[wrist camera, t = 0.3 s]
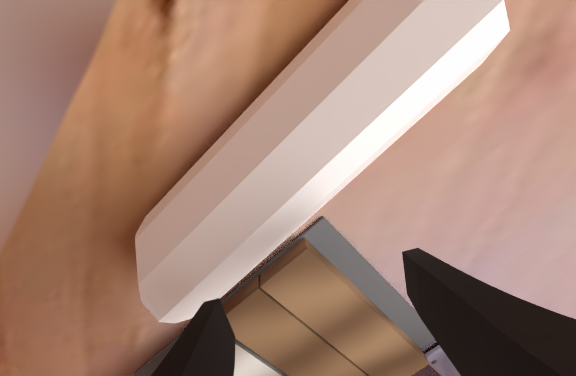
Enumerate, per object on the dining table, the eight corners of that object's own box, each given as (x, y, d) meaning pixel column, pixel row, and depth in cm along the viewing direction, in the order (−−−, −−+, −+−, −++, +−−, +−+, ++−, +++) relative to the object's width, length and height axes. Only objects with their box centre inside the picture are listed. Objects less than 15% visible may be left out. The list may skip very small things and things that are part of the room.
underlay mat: (438, 334, 25) (440, 336, 25) (268, 447, 29) (268, 450, 29) (322, 216, 20) (323, 217, 20) (135, 371, 24) (134, 375, 24)
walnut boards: (420, 348, 25) (429, 363, 24) (343, 399, 27) (347, 417, 25) (304, 237, 20) (307, 248, 19) (218, 308, 22) (214, 323, 20)
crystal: (224, 345, 19) (542, 76, 14) (115, 347, 14) (563, -78, 9) (200, 257, 24) (431, 36, 19) (114, 234, 18) (403, -78, 14)
